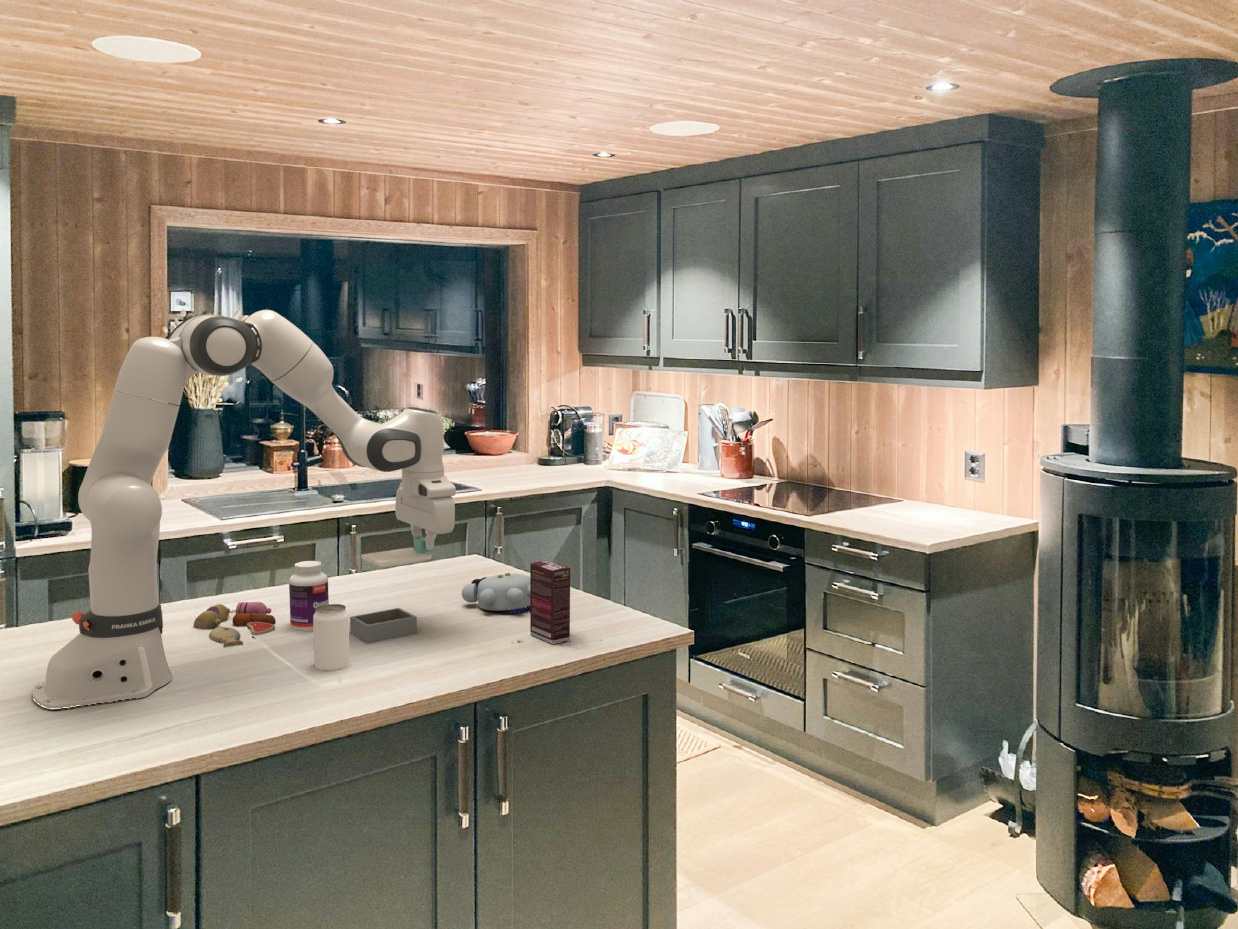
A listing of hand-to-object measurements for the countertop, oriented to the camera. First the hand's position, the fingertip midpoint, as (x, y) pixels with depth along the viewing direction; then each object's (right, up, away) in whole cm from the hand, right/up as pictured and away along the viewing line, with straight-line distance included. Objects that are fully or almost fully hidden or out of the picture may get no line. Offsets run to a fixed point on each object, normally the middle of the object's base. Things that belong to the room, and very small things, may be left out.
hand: (423, 547), depth 217 cm
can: (-13, -22, -23) cm, 34 cm away
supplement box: (+27, -19, -2) cm, 33 cm away
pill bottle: (-25, -18, +2) cm, 31 cm away
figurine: (+14, -16, +21) cm, 30 cm away
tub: (-8, -19, -3) cm, 21 cm away
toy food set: (-41, -18, +3) cm, 45 cm away
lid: (-4, -3, -3) cm, 6 cm away
